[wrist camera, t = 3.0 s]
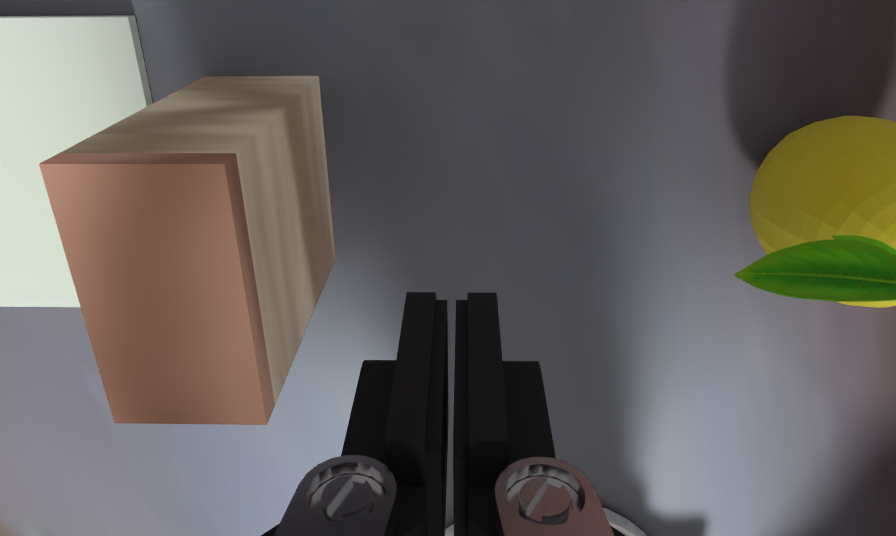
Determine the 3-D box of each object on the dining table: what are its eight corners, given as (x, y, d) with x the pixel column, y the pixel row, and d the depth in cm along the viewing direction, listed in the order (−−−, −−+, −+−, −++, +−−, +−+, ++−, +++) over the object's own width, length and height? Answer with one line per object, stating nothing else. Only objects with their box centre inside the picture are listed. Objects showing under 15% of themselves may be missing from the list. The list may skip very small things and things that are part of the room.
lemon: (668, 191, 24) (783, 337, 16) (783, 51, 22) (997, 128, 13) (801, 278, 26) (976, 458, 17) (922, 155, 24) (1199, 288, 15)
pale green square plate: (134, 15, 22) (127, 16, 22) (193, 301, 27) (188, 308, 27) (-185, 17, 23) (-199, 18, 22) (-70, 299, 27) (-79, 306, 27)
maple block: (318, 76, 23) (224, 164, 14) (335, 257, 26) (267, 424, 17) (204, 76, 23) (38, 164, 14) (234, 257, 26) (114, 422, 17)
